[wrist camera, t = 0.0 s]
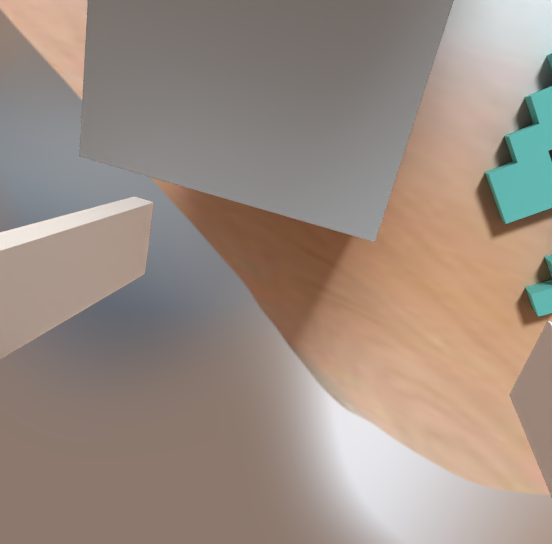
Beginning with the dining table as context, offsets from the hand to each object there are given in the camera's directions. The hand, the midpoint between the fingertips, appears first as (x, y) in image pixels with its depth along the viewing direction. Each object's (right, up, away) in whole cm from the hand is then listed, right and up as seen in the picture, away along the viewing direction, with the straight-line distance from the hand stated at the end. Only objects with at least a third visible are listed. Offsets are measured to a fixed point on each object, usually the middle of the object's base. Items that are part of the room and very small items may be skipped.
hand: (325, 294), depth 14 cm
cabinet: (+4, +22, +22) cm, 32 cm away
